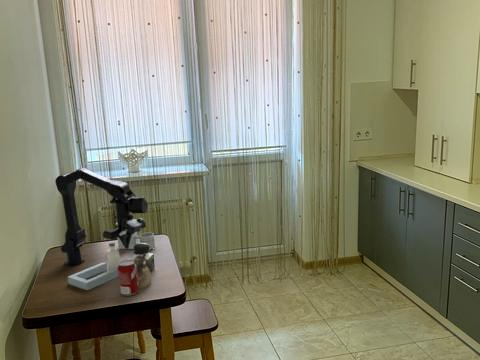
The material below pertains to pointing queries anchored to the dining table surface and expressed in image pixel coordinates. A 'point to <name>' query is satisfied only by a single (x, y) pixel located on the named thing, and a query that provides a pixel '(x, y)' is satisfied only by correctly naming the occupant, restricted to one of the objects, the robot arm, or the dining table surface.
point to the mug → (146, 239)
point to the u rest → (81, 277)
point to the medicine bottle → (142, 249)
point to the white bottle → (113, 257)
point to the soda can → (128, 277)
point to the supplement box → (130, 241)
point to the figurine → (142, 271)
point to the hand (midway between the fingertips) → (126, 248)
